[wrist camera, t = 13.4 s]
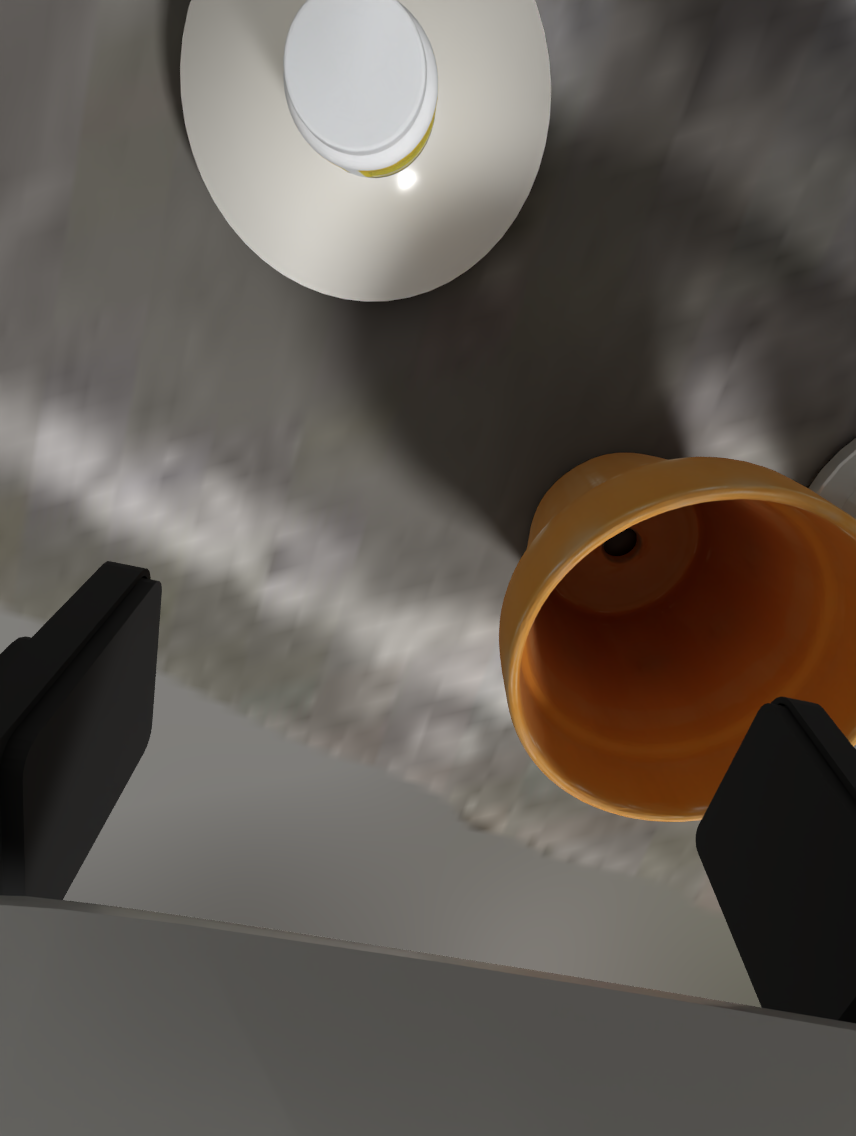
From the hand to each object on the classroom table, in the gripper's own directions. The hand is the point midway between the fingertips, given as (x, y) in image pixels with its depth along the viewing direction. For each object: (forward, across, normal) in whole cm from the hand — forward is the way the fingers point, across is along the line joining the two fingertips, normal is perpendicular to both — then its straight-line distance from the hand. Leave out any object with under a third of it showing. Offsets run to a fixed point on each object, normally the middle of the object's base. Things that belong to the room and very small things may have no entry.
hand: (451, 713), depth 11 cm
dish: (+25, +5, -10) cm, 27 cm away
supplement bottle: (+24, +5, -10) cm, 26 cm away
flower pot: (+26, -10, +6) cm, 28 cm away
